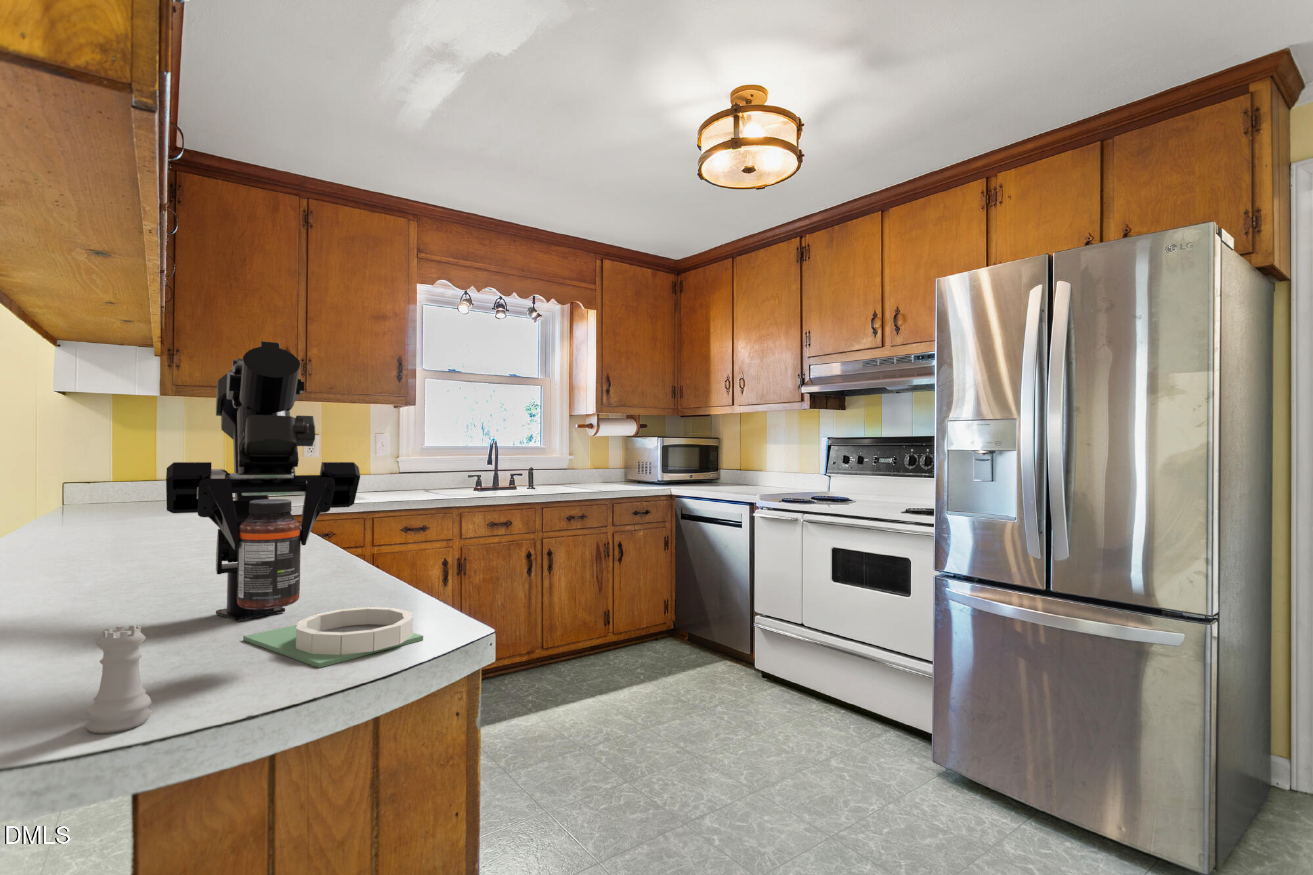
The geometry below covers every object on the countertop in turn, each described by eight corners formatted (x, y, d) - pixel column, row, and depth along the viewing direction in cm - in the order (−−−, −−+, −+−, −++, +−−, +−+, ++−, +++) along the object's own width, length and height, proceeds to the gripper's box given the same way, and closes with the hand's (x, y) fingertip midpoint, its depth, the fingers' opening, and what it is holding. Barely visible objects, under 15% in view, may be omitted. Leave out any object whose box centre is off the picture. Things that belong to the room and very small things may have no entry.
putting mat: (243, 640, 81) (243, 635, 81) (345, 618, 91) (345, 614, 91) (319, 667, 71) (319, 663, 71) (423, 639, 82) (423, 635, 82)
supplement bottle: (260, 597, 76) (263, 497, 76) (311, 599, 75) (313, 498, 75) (222, 610, 70) (225, 501, 70) (276, 612, 69) (279, 503, 69)
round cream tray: (275, 641, 79) (275, 622, 79) (372, 619, 89) (373, 602, 89) (334, 661, 72) (334, 641, 72) (432, 635, 82) (433, 617, 82)
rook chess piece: (114, 738, 54) (117, 638, 54) (69, 732, 55) (72, 634, 55) (165, 716, 58) (168, 624, 58) (123, 711, 59) (126, 620, 59)
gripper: (169, 386, 70) (161, 499, 61) (359, 395, 81) (376, 493, 72) (170, 458, 77) (163, 569, 68) (345, 458, 87) (360, 555, 78)
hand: (271, 545), depth 71 cm, fingers closed on supplement bottle, 6 cm apart
